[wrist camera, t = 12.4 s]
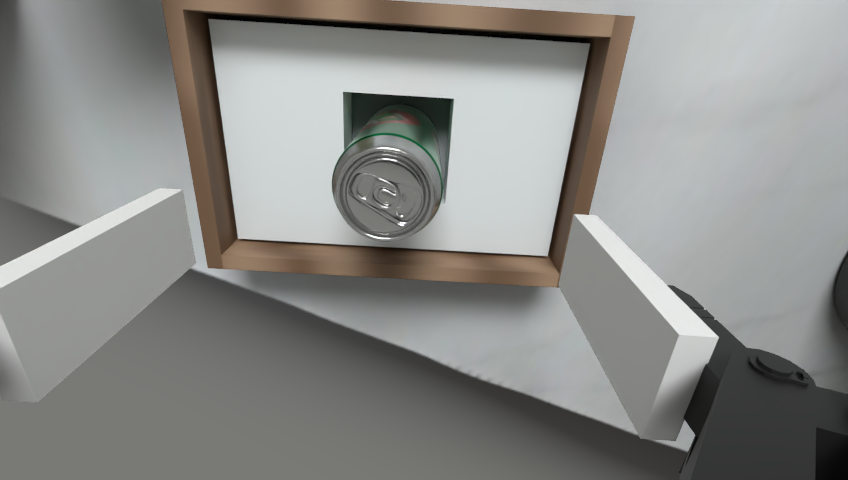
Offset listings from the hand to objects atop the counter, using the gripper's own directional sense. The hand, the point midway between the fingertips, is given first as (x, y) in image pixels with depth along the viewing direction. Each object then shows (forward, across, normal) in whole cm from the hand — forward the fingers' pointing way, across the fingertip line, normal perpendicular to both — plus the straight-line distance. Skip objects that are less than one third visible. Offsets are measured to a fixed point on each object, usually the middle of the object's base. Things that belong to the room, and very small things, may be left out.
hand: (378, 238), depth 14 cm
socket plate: (+16, 0, 0) cm, 16 cm away
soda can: (+16, 0, 0) cm, 16 cm away
